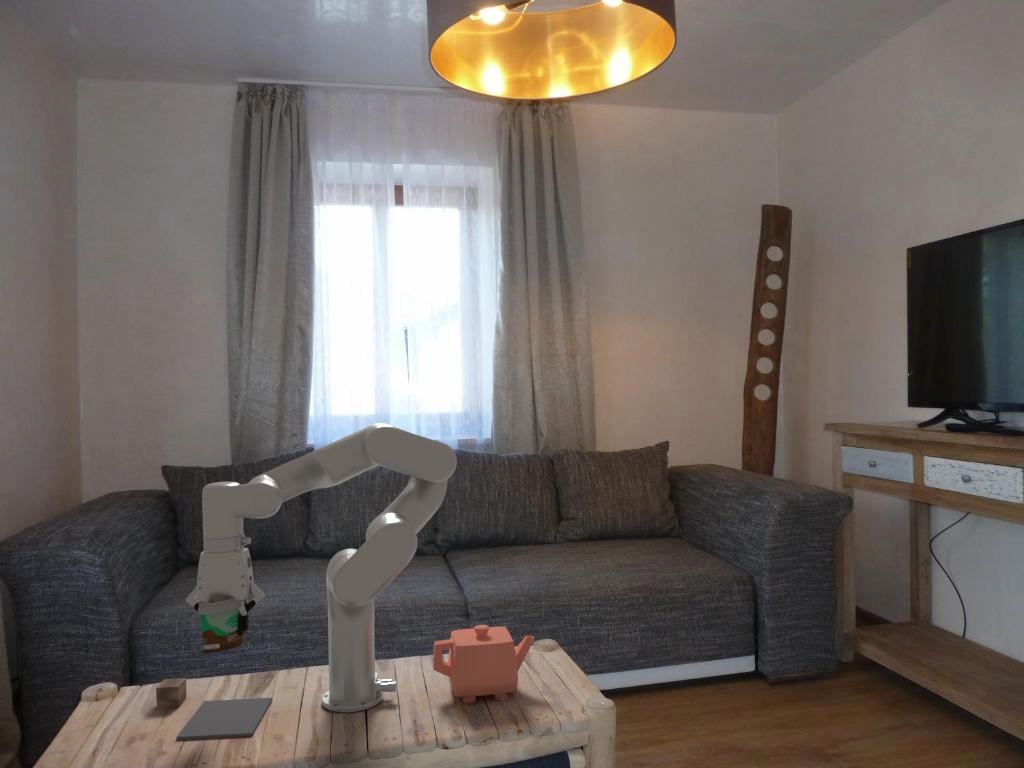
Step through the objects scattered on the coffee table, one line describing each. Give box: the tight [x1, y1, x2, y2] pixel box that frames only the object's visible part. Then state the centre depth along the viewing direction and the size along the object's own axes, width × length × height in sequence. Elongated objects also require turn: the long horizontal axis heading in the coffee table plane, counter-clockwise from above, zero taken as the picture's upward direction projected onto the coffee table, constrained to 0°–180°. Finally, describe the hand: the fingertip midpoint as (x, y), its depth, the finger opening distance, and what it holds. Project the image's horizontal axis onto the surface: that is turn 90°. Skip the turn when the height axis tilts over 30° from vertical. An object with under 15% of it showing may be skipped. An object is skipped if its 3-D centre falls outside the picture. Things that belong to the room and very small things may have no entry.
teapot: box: [432, 624, 535, 704], centre depth 161 cm, size 22×13×14 cm, turn 100°
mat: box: [176, 697, 273, 741], centre depth 149 cm, size 14×16×1 cm
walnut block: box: [155, 677, 187, 710], centre depth 157 cm, size 4×4×4 cm
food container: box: [197, 598, 249, 654], centre depth 150 cm, size 12×6×10 cm, turn 171°
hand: (226, 633), depth 149 cm, fingers closed on food container, 5 cm apart
